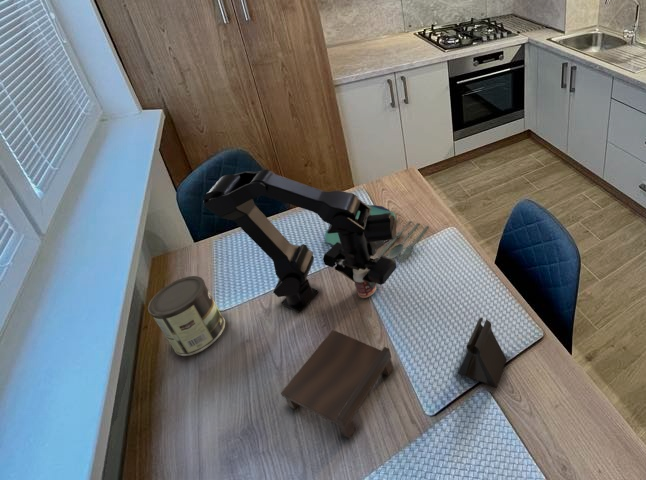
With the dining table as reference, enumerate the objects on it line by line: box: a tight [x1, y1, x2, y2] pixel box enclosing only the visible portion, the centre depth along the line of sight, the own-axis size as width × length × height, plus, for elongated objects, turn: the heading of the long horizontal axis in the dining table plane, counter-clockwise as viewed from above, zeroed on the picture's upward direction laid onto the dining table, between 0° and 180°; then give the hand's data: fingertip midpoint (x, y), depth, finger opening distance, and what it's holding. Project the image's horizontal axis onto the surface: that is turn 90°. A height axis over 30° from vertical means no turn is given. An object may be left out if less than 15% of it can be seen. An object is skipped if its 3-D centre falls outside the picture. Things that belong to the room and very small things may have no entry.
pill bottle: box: [353, 268, 377, 299], centre depth 105 cm, size 5×5×8 cm
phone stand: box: [457, 317, 507, 388], centre depth 85 cm, size 9×6×12 cm, turn 70°
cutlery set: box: [324, 204, 430, 264], centre depth 123 cm, size 20×30×2 cm, turn 67°
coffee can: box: [147, 275, 226, 357], centre depth 94 cm, size 10×10×14 cm
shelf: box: [280, 329, 394, 440], centre depth 84 cm, size 16×14×7 cm
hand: (365, 285), depth 105 cm, fingers closed on pill bottle, 5 cm apart
